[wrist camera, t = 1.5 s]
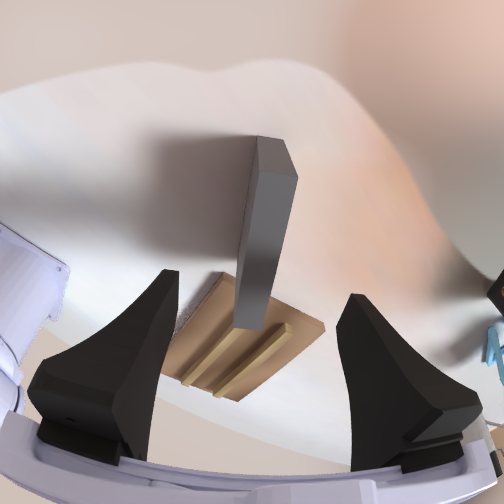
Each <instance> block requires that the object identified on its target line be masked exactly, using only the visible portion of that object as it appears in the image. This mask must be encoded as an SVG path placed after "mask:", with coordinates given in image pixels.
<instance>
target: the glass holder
mask: <svg viewBox="0 0 504 504" xmlns="http://www.w3.org/2000/svg"><path fill="white" fill-rule="evenodd" d="M487 424H489V425H493V426H498V427H502V428H504V425H501V424H497V423H493V422H489V421H486V420H485V418H484V417H483V414H482V412H481V414H480V415H479V417H478V418H477V419H476V420H475V421H473V422H472V423H471V424H470V425H469V426H468V427H467V428H465V429H464V430H463V431H462V434H463V439H462V440H461V441H460V443H461V446H463V445H465V444H467V443H469V442H473V441H476V440H479V439H482V438H483V439H484V440H485V443H486V446H487V449H488V452H489V455H490V458H491V461H492V464H493V467H494V470H495V474H496V477H499V476H500V475H502V474H503V473H502V470H501V467H500V464H499V460H498V457H497V454H496V452H495V451H497V450H501V451H502V454H503V456H504V449H502V448H497V449H495V446H494V443H493V440H492V437H491V435H490V432H489V429H488V427H487Z"/></svg>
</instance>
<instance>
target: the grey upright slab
mask: <svg viewBox="0 0 504 504" xmlns="http://www.w3.org/2000/svg"><path fill="white" fill-rule="evenodd" d="M297 181H298V175H297V173H296V170H295V168H294V165H293V163H292V160H291V158H290V155H289V153H288V150H287V148H286V145H285V143H284V140H281V139H276V138H269V137H263V136H257V140H256V146H255V152H254V158H253V164H252V170H251V176H250V182H249V189H248V195H247V201H246V207H245V213H244V220H243V226H242V232H241V238H240V245H239V251H238V258H237V272H236V287H235V302H234V317H233V328H239V329H248V330H258V331H261V330H262V326H263V322H264V318H265V314H266V310H267V306H268V302H269V298H270V294H271V290H272V286H273V282H274V278H275V274H276V270H277V266H278V262H279V258H280V254H281V250H282V245H283V241H284V237H285V233H286V229H287V224H288V220H289V216H290V212H291V207H292V203H293V199H294V194H295V190H296V185H297Z"/></svg>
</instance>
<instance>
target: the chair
mask: <svg viewBox="0 0 504 504" xmlns="http://www.w3.org/2000/svg"><path fill="white" fill-rule="evenodd" d="M503 319H504V317H503ZM494 352H495V355H493V354H494ZM503 355H504V347H503V348H502V349H500V344H499V339H498V334H497V332H496V330H495V329H494V327H490V328H489V329H488V343H487V351H486V363H487V365H488V366H490V365H492V364H493V363H494V362H497V367H498V372H499V376H500V380H501V382H502V384H503V386H504V365H503V360H502V356H503Z"/></svg>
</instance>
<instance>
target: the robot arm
mask: <svg viewBox="0 0 504 504" xmlns="http://www.w3.org/2000/svg"><path fill="white" fill-rule="evenodd" d="M59 267H60V268H61V269H60V268H59ZM69 274H70V269H69V268H68V266H66V265H65V264H63V263H61V262H60V261H58V260H56V259H55V258H53V257H51V256H50V255H48V254H46V253H45V252H43V251H42V250H40V249H38V248H37V247H35V246H34V245H32V244H30V243H29V242H27V241H26V240H24V239H23V238H21V237H20V236H18V235H17V234H15V233H14V232H12V231H11V230H9V229H8V228H6V227H5V226H3V225H2V224H0V474H2V475H3V476H4V477H6V478H8V479H9V480H10V481H12V482H13V483H15V484H17V485H18V486H20V487H22V488H24V489H26V490H28V491H31V492H32V493H35V494H37V495H39V496H41V497H43V498H46V499H48V500H50V501H53V502H55V503H57V504H459V503H461V502H464V501H465V500H467V499H469V498H471V497H473V496H475V495H477V494H479V493H481V492H482V491H484V490H486V489H487V488H489V487H491V486H493V485H495V484H496V483H497V482H498V481H497V477H496V474H495V470H494V467H493V464H492V461H491V458H490V455H489V452H488V449H487V446H486V443H485V440H484V439H483V438H482V439H479V440H476V441H473V442H469V443H467V444H465V445H463V446H461V443H460V441H461V440H462V439H463V434H462V431H463V430H464V429H465V428H467V427H468V426H469V425H470V424H471V423H472V422H473V421H475V420H476V419H477V418H478V417H479V415H480V414H481V412H482V409H483V407H482V404H481V402H480V399H479V397H478V395H477V392H475V391H473V390H471V389H469V388H468V387H466V386H464V385H462V384H460V383H458V382H457V381H455V380H453V379H452V378H450V377H449V376H447V375H446V374H444V373H443V372H441V371H440V370H438V369H437V368H436V367H434V366H433V365H432V364H431V363H429V362H428V361H427V360H426V359H424V358H423V357H422V356H421V355H420V354H419V353H418V352H416V351H415V350H414V349H413V348H412V347H411V346H410V345H409V344H408V343H407V342H406V341H405V340H404V339H403V338H402V337H401V336H400V335H399V334H398V333H397V331H396V330H395V329H394V328H393V327H392V326H391V325H390V324H389V322H388V321H387V320H386V319H385V318H384V317H383V316H382V314H381V313H380V312H379V311H378V310H377V309H376V307H375V306H374V305H373V304H372V303H371V302H370V301H369V300H368V298H367V297H366V296H365V295H362V294H353V293H351V295H350V297H349V299H348V302H347V304H346V306H345V308H344V311H343V313H342V315H341V317H340V319H339V321H338V324H337V326H336V333H337V343H338V350H339V354H340V358H341V363H342V367H343V371H344V375H345V380H346V384H347V388H348V394H349V401H350V412H351V429H352V456H351V472H348V473H336V474H321V475H297V476H269V475H243V474H229V473H218V472H208V471H199V470H192V469H184V468H178V467H172V466H166V465H160V464H155V463H150V462H147V452H148V443H149V435H150V427H151V420H152V413H153V407H154V401H155V396H156V390H157V385H158V380H159V376H160V372H161V369H162V366H163V363H164V360H165V356H166V353H167V350H168V347H169V344H170V341H171V338H172V334H173V331H174V327H175V322H176V317H177V312H178V294H179V271H174V270H167V269H164V270H162V271H161V273H160V274H159V275H158V276H157V277H156V279H155V280H154V281H153V282H152V283H151V284H150V285H149V287H148V288H147V289H146V290H145V291H144V292H143V293H142V294H141V295H140V296H139V297H138V298H137V299H136V300H135V301H134V302H133V303H132V304H131V305H130V306H129V307H128V308H127V309H126V310H125V311H124V312H122V313H121V314H120V315H119V316H118V317H117V318H115V319H114V320H113V321H112V322H110V323H109V324H108V325H107V326H105V327H104V328H102V329H101V330H100V331H98V332H97V333H95V334H94V335H92V336H91V337H89V338H88V339H86V340H84V341H82V342H81V343H79V344H77V345H75V346H73V347H72V348H70V349H68V350H66V351H64V352H61V353H59V354H56V355H54V356H52V357H49V358H47V359H44V360H43V361H42V362H41V364H40V366H39V367H38V369H37V371H36V372H35V374H34V377H33V379H32V381H31V383H30V385H29V387H28V390H27V393H28V397H29V399H30V400H31V402H32V404H33V405H34V406H35V408H36V409H37V411H38V412H39V413H40V415H41V416H42V417H43V418H42V421H41V424H40V425H39V424H38V423H37V422H35V421H34V420H32V419H30V418H27V417H25V416H23V413H24V406H25V393H24V390H23V388H22V386H21V385H20V382H21V380H22V378H23V376H24V374H23V373H22V371H21V370H20V369H19V367H20V365H21V363H22V361H23V359H24V357H25V355H26V353H27V351H28V350H29V348H30V346H31V344H32V342H33V341H34V339H35V337H36V335H37V334H38V332H39V330H40V328H41V327H42V325H43V323H44V321H45V320H46V318H48V319H50V320H52V321H54V322H56V321H57V319H58V317H59V312H60V308H61V304H62V300H63V296H64V292H65V288H66V284H67V281H68V277H69Z"/></svg>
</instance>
